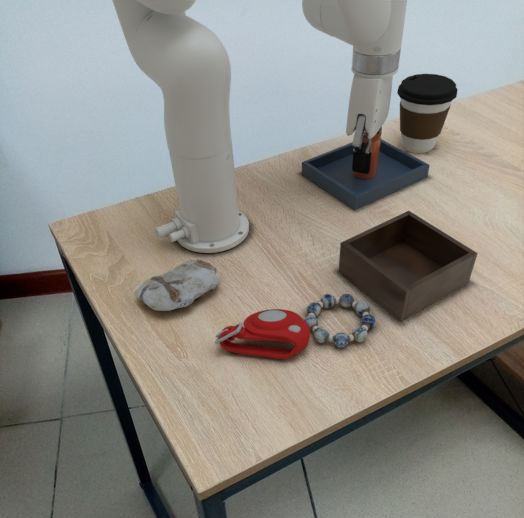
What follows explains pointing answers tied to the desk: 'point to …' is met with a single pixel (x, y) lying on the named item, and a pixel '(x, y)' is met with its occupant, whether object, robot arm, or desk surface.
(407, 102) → the coffee cup
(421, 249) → the brown open box
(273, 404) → the desk surface
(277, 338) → the tracker holder
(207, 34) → the robot arm
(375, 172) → the orange cylinder
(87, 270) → the desk surface
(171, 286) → the stone
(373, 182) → the tray
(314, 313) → the bracelet
